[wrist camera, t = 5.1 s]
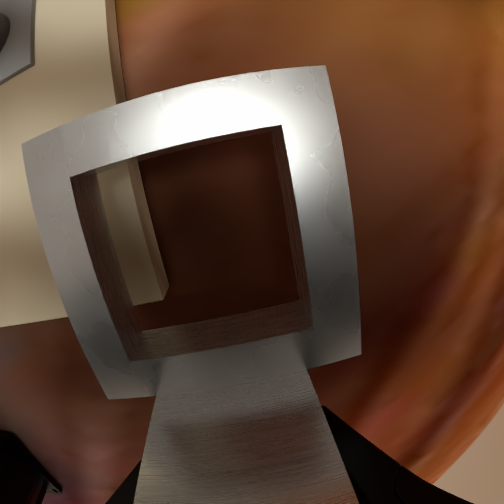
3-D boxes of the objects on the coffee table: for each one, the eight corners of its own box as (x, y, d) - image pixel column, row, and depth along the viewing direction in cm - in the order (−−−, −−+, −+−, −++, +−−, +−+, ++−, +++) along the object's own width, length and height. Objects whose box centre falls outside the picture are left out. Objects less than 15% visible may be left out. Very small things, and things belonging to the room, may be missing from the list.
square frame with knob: (52, 145, 7) (-130, 151, 1) (306, 82, 7) (453, -37, 1) (163, 445, 10) (147, 580, 4) (345, 413, 10) (404, 543, 5)
